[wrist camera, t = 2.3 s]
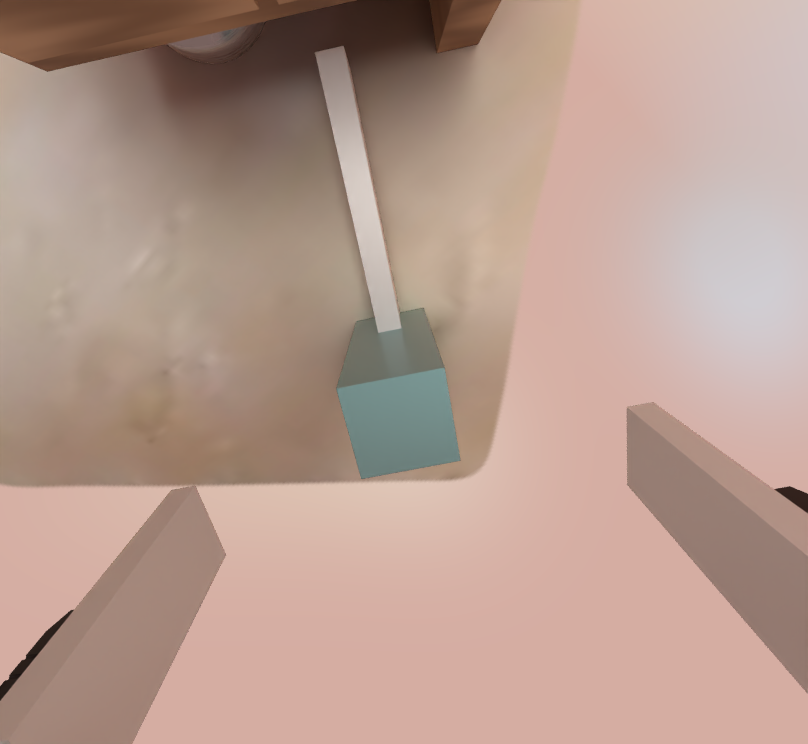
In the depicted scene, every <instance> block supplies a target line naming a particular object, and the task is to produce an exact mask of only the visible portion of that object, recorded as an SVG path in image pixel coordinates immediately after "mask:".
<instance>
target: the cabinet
mask: <svg viewBox="0 0 808 744" xmlns="http://www.w3.org/2000/svg"><path fill="white" fill-rule="evenodd" d="M351 1H355V0H0V52H1V53H4V54H6V55H9V56H11V57H13V58H16V59H18V60H21V61H23V62H26V63H28V64H30V65H33V66H35V67H38V68H40V69H43V70H45V71H47V72H48V71H52V70H56V69H61V68H65V67H69V66H74V65H78V64H82V63H87V62H91V61H95V60H100V59H104V58H108V57H113V56H117V55H121V54H126V53H130V52H134V51H139V50H143V49H147V48H152V47H156V46H160V45H165V44H169V43H173V42H178V41H182V40H186V39H191V38H195V37H199V36H204V35H208V34H212V33H217V32H221V31H225V30H230V29H234V28H238V27H243V26H247V25H251V24H256V23H260V22H264V21H269V20H273V19H277V18H282V17H286V16H290V15H295V14H299V13H303V12H308V11H312V10H316V9H321V8H325V7H329V6H334V5H338V4H342V3H347V2H351ZM500 2H501V0H430V7H431V15H432V22H433V29H434V36H435V43H436V51H437V53H440V52H444V51H449V50H453V49H458V48H462V47H466V46H471V45H475V44H478V43H479V41H480V39H481V38H482V36H483V34H484V32H485V30H486V28H487V26H488V24H489V23H490V21H491V19H492V17H493V15H494V13H495V11H496V9H497V8H498V6H499V4H500Z"/></svg>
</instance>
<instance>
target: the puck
mask: <svg viewBox="0 0 808 744" xmlns="http://www.w3.org/2000/svg"><path fill="white" fill-rule="evenodd" d="M264 24H265V21H264V22H260V23H256V24H251V25H247V26H243V27H238V28H234V29H230V30H225V31H221V32H217V33H212V34H208V35H204V36H199V37H195V38H191V39H186V40H182V41H178V42H173V43H169V44H167V45H168V46H169V47H171V48H172V49H173V50H175V51H176V52H178V53H179V54H181V55H183V56H185V57H187V58H189V59H191V60H194V61H197V62H202V63H208V64H218V63H225V62H228V61H231V60H233V59H235V58H237V57H239V56H241V55H242V54H244V53H245V52H246V51H247V50H248V49H249V48H250V47H251V46H252V45H253V44H254V43H255V41H256V40H257V38H258V37H259V35H260V33H261V31H262V29H263V26H264Z"/></svg>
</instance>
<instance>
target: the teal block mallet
mask: <svg viewBox="0 0 808 744" xmlns="http://www.w3.org/2000/svg"><path fill="white" fill-rule="evenodd" d="M315 55H316V60H317V64H318V69H319V73H320V77H321V82H322V86H323V91H324V95H325V99H326V104H327V108H328V113H329V117H330V122H331V126H332V130H333V135H334V139H335V144H336V148H337V152H338V157H339V161H340V166H341V170H342V175H343V179H344V183H345V188H346V192H347V197H348V201H349V206H350V210H351V214H352V219H353V223H354V228H355V232H356V236H357V241H358V245H359V250H360V254H361V259H362V263H363V267H364V272H365V276H366V281H367V285H368V289H369V294H370V298H371V303H372V307H373V312H374V316H375V318H371V319H366V320H361V321H356V325H355V328H354V331H353V335H352V338H351V341H350V345H349V348H348V351H347V355H346V358H345V361H344V365H343V368H342V371H341V374H340V378H339V381H338V384H337V388H336V390H337V393H338V397H339V400H340V404H341V408H342V411H343V415H344V418H345V422H346V426H347V429H348V433H349V436H350V440H351V444H352V447H353V451H354V454H355V458H356V461H357V465H358V469H359V472H360V476H361V479H365V478H370V477H375V476H381V475H386V474H392V473H397V472H402V471H408V470H413V469H418V468H424V467H429V466H435V465H440V464H445V463H451V462H456V461H460V455H459V449H458V443H457V438H456V432H455V426H454V420H453V414H452V408H451V403H450V397H449V391H448V385H447V379H446V374H445V368H444V365H443V362H442V359H441V356H440V354H439V351H438V348H437V345H436V342H435V339H434V336H433V334H432V331H431V328H430V325H429V322H428V319H427V317H426V314H425V311H424V308H420V309H415V310H411V311H406V312H401V313H400V311H399V306H398V301H397V296H396V291H395V286H394V281H393V276H392V271H391V266H390V261H389V257H388V252H387V247H386V242H385V237H384V232H383V227H382V222H381V217H380V212H379V207H378V202H377V197H376V193H375V188H374V183H373V178H372V173H371V168H370V163H369V158H368V153H367V148H366V143H365V138H364V134H363V129H362V124H361V119H360V114H359V109H358V104H357V99H356V94H355V89H354V84H353V79H352V74H351V70H350V67H349V63H348V59H347V56H346V52H345V49H344V46H340V47H335V48H331V49H327V50H322V51H318V52H315Z"/></svg>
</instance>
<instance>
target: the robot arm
mask: <svg viewBox="0 0 808 744" xmlns="http://www.w3.org/2000/svg"><path fill="white" fill-rule="evenodd" d="M627 482H628V483H627V485H628V486H629V487H630V489H631V490H632V491H633V492H634V493H635V494H636V495H637V496H638V498H639V499H640V500H641V501H642V502H643V504H644V505H645V506H646V507H647V508H648V509H649V511H650V512H651V513H652V514H653V515H654V516H655V517H656V519H657V520H658V521H659V522H660V523H661V524H662V525H663V527H664V528H665V529H666V530H667V531H668V532H669V534H670V535H671V536H672V537H673V538H674V539H675V541H676V542H677V543H678V544H679V545H680V546H681V548H682V549H683V550H684V551H685V552H686V553H687V555H688V556H689V557H690V558H691V559H692V560H693V561H694V563H695V564H696V565H697V566H698V567H699V568H700V570H701V571H702V572H703V573H704V574H705V575H706V577H708V579H709V580H710V581H711V582H712V583H713V584H714V586H715V587H716V588H717V589H718V590H719V592H720V593H721V594H722V595H723V596H724V597H725V598H726V600H727V601H728V602H729V603H730V604H731V605H732V607H733V608H734V609H735V610H736V611H737V612H738V614H739V615H740V616H741V617H742V618H743V619H744V621H745V622H746V623H747V624H748V625H749V626H750V627H751V629H752V630H753V631H754V632H755V633H756V634H757V636H758V637H759V638H760V639H761V640H762V641H763V642H764V644H765V645H766V646H767V647H768V648H769V649H770V651H771V652H772V653H773V654H774V655H775V656H776V657H777V659H778V660H779V661H780V662H781V663H782V664H783V666H784V667H785V668H786V669H787V670H788V671H789V673H790V674H791V675H792V676H793V677H794V678H795V679H796V681H797V682H798V683H799V684H800V685H801V687H802V688H803V689H804V690H805V691H806V692H807V693H808V494H807V493H804V492H802V491H800V490H797V489H795V488H793V487H790V486H789V487H784V488H778V489H773V488H772V487H770V486H769V485H767V484H766V483H764V482H763V481H762V480H760V479H759V478H758V477H756V476H755V475H753V474H752V473H751V472H749V471H748V470H747V469H745V468H744V467H742V466H741V465H740V464H738V463H737V462H736V461H734V460H733V459H731V458H730V457H729V456H727V455H726V454H724V453H723V452H722V451H720V450H719V449H717V448H716V447H715V446H713V445H712V444H711V443H709V442H708V441H706V440H705V439H704V438H702V437H701V436H700V435H698V434H697V433H695V432H694V431H693V430H691V429H690V428H688V427H687V426H686V425H684V424H683V423H682V422H680V421H679V420H677V419H676V418H675V417H673V416H672V415H670V414H669V413H668V412H666V411H665V410H663V409H662V408H661V407H659V406H658V405H657V404H655V403H654V402H651V403H646V404H641V405H635V406H630V407H627ZM225 556H226V554H225V552H224V549H223V547H222V545H221V543H220V540H219V538H218V536H217V533H216V531H215V529H214V527H213V524H212V522H211V520H210V518H209V516H208V513H207V511H206V509H205V506H204V504H203V502H202V500H201V498H200V495H199V493H198V491H197V488H196V486H191V487H186V488H180V489H175V490H171V491H170V493H169V494H168V495H167V496H166V497H165V499H164V500H163V501H162V503H161V504H160V505H159V506H158V507H157V509H156V510H155V511H154V512H153V514H152V515H151V516H150V517H149V518H148V520H147V521H146V522H145V523H144V525H143V526H142V527H141V528H140V530H139V531H138V532H137V533H136V534H135V536H134V537H133V538H132V539H131V541H130V542H129V543H128V544H127V546H126V547H125V548H124V549H123V551H122V552H121V553H120V554H119V555H118V557H117V558H116V559H115V561H114V562H113V563H112V564H111V565H110V567H109V568H108V569H107V570H106V571H105V573H104V574H103V575H102V576H101V578H100V579H99V580H98V581H97V583H96V584H95V585H94V586H93V587H92V589H91V590H90V591H89V592H88V594H87V595H86V596H85V597H84V598H83V600H82V601H81V602H80V603H79V605H78V606H77V607H76V608H75V610H71V611H70V612H68V613H67V614H66V615H65V616H64V617H62V618H61V619H60V620H59V621H58V622H57V623H55V624H54V625H53V626H52V627H51V628H50V629H48V630H47V631H46V632H45V633H44V635H43V636H42V637H41V638H40V639H39V640H38V642H37V643H36V644H35V645H34V647H33V648H32V649H31V650H30V651H29V652H28V654H27V655H26V659H25V660H22V661H21V662H20V663H19V664H18V666H17V667H16V668H15V669H14V670H13V672H12V673H11V674H10V675H9V676H10V677H9V679H8V680H6V681H4V682H3V684H2V685H1V686H0V744H132V743H133V741H134V739H135V737H136V735H137V733H138V731H139V729H140V727H141V725H142V723H143V721H144V719H145V717H146V714H147V713H148V711H149V709H150V707H151V705H152V702H153V701H154V699H155V697H156V695H157V693H158V691H159V689H160V687H161V685H162V682H163V680H164V679H165V676H166V674H167V672H168V670H169V668H170V666H171V664H172V662H173V660H174V658H175V656H176V654H177V652H178V650H179V648H180V646H181V644H182V642H183V640H184V638H185V636H186V634H187V632H188V630H189V628H190V626H191V624H192V622H193V620H194V618H195V616H196V614H197V612H198V610H199V608H200V606H201V604H202V602H203V600H204V598H205V596H206V594H207V592H208V590H209V588H210V586H211V584H212V581H213V580H214V578H215V576H216V574H217V572H218V570H219V568H220V566H221V564H222V562H223V560H224V558H225Z"/></svg>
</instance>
